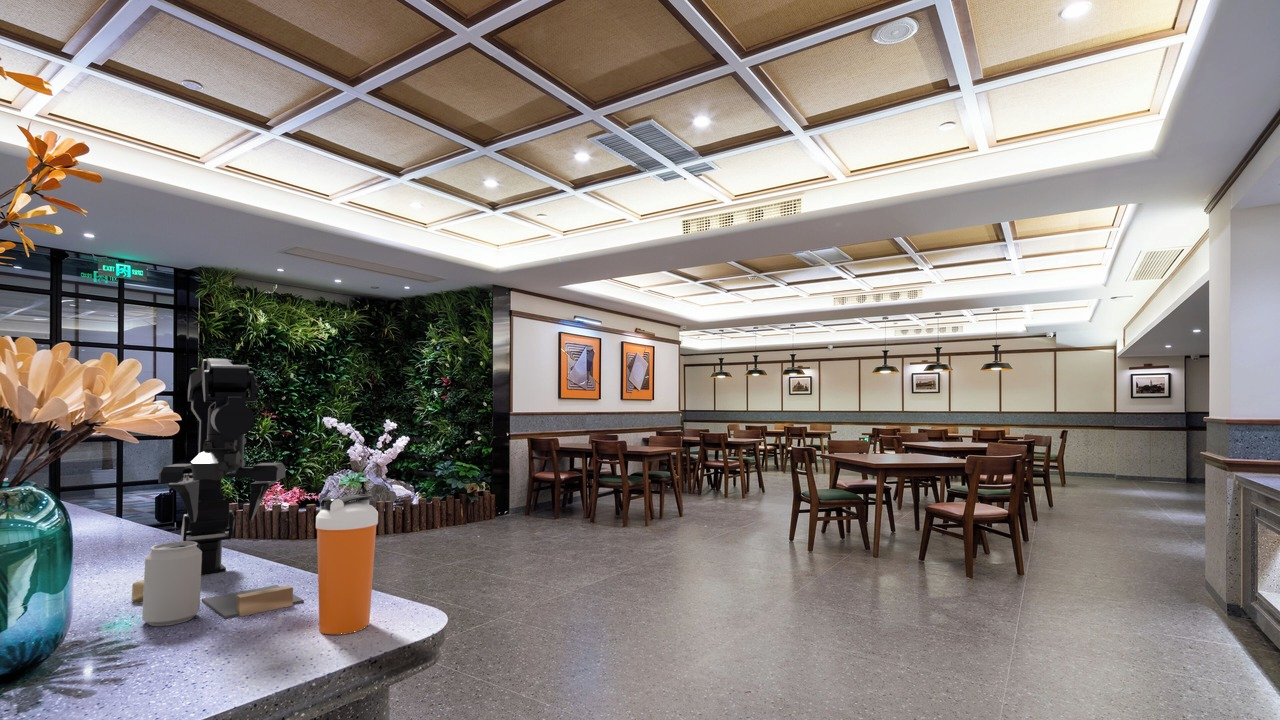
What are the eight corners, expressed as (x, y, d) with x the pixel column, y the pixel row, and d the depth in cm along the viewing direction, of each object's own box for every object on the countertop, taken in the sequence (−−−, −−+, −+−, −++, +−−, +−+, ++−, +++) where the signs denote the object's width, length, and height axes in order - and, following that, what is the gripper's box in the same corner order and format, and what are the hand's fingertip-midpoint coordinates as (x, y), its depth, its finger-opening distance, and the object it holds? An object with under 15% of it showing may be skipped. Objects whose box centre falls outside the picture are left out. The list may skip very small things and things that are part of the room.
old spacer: (130, 598, 117) (130, 581, 117) (164, 593, 120) (165, 576, 120) (133, 605, 113) (134, 587, 113) (168, 599, 117) (169, 582, 117)
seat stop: (236, 613, 108) (236, 595, 108) (288, 603, 114) (288, 585, 114) (239, 616, 106) (240, 597, 107) (292, 605, 112) (293, 587, 112)
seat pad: (201, 600, 115) (201, 598, 115) (276, 587, 124) (276, 584, 124) (224, 618, 105) (224, 616, 105) (303, 602, 114) (303, 599, 114)
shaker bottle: (387, 624, 102) (390, 495, 104) (333, 642, 95) (337, 502, 96) (354, 614, 107) (357, 491, 109) (300, 630, 100) (304, 497, 101)
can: (210, 613, 108) (213, 539, 109) (173, 628, 101) (177, 549, 102) (168, 611, 109) (171, 538, 110) (129, 627, 102) (133, 548, 102)
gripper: (144, 437, 108) (139, 532, 108) (268, 436, 112) (264, 528, 112) (175, 432, 119) (171, 519, 118) (287, 432, 123) (284, 516, 123)
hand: (222, 521), depth 117 cm, fingers open, 9 cm apart
